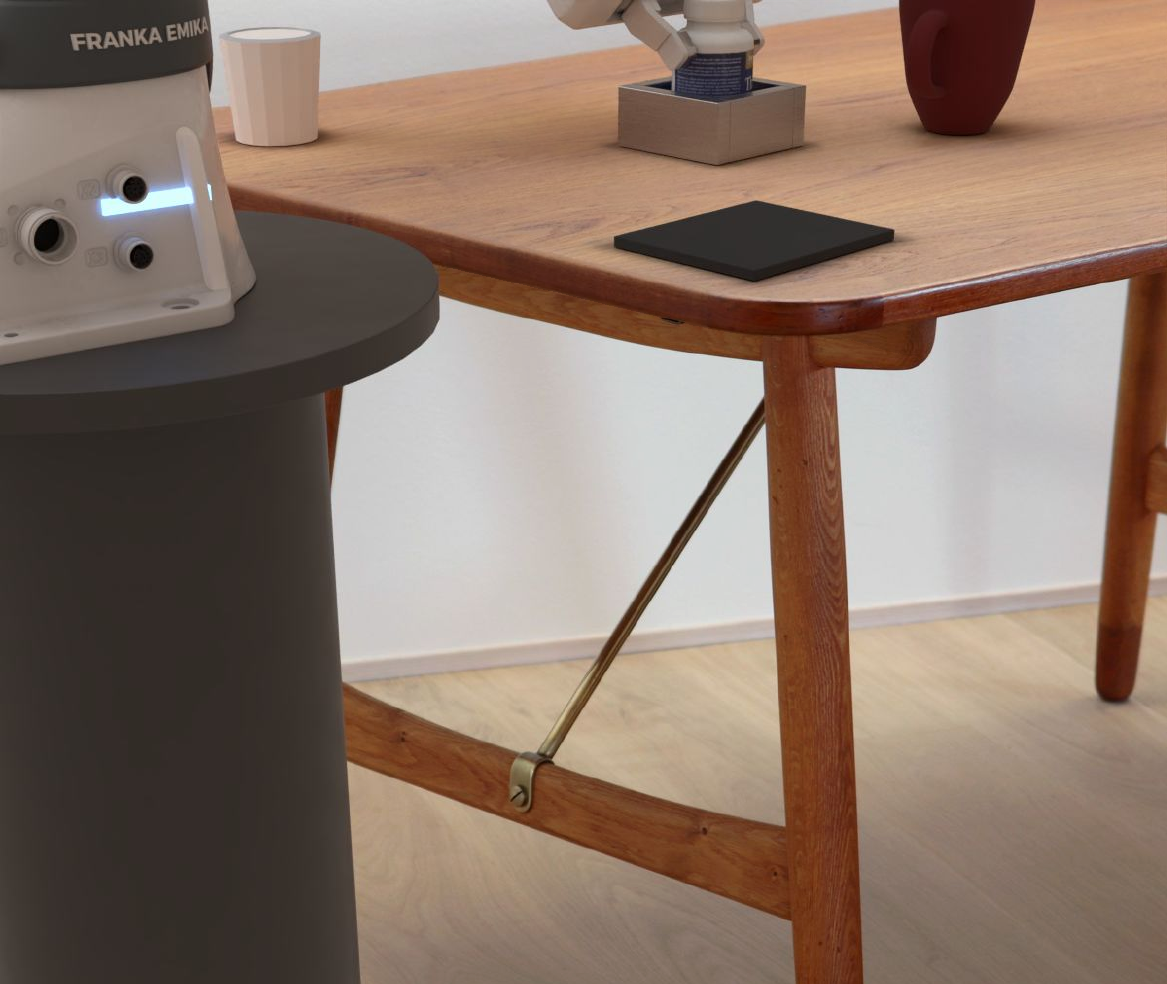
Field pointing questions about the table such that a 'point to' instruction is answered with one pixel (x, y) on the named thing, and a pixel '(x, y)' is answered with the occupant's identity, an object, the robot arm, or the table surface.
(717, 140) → the box
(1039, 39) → the table surface
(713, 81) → the pill bottle
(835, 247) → the mat
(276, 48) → the beige cup
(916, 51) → the mug
